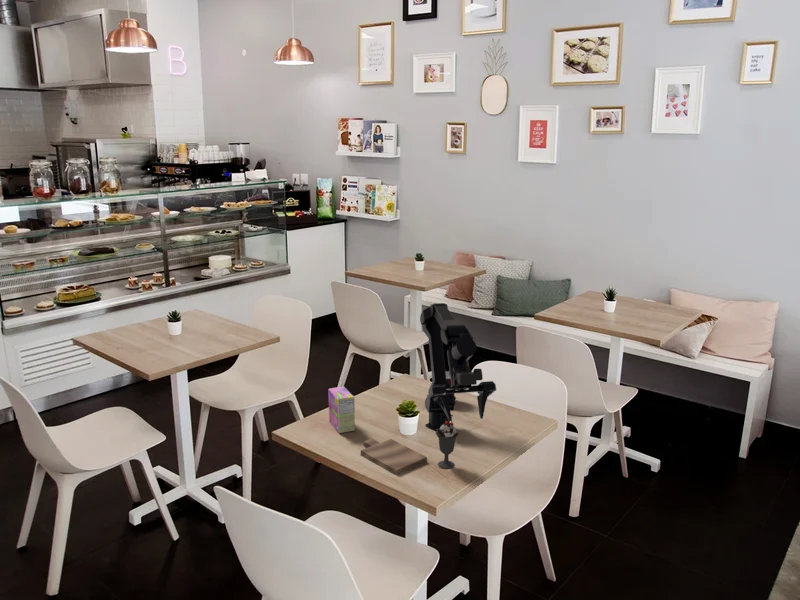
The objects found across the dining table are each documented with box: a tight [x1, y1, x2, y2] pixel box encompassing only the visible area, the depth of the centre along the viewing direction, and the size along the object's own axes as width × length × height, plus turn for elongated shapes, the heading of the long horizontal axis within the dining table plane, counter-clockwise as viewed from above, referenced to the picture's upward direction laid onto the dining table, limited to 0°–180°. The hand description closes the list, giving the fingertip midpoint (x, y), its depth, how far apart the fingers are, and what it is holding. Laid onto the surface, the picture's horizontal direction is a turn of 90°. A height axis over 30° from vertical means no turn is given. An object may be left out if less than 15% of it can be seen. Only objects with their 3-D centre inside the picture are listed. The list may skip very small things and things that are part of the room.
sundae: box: [435, 414, 459, 470], centre depth 191 cm, size 7×7×15 cm
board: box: [360, 438, 428, 476], centre depth 198 cm, size 20×12×2 cm, turn 42°
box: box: [327, 386, 356, 434], centre depth 217 cm, size 10×6×12 cm, turn 23°
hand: (466, 419), depth 187 cm, fingers open, 9 cm apart
